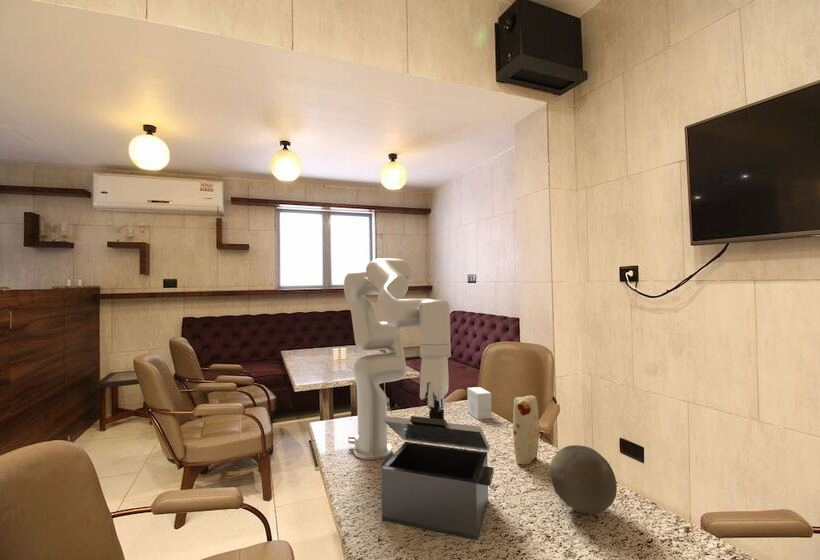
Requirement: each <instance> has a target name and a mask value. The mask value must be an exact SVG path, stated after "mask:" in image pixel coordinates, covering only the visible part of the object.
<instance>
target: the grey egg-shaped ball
mask: <svg viewBox="0 0 820 560" xmlns="http://www.w3.org/2000/svg"><path fill="white" fill-rule="evenodd" d="M549 471H550V472H549V475H550V481H551V484H552V486H553V490H554V491H555V493H556V495H557V496H558V497H559V498H560V499H561V501H562V502H563V503H564V504H565V505H567V506H568V507H569V508H571V509H573V510H574V511H575V512H577V513H581V514H589V515H595V514H596V515H597V514H599V513H603V512H604V511H606V510H607V509H609V508H610V507H611V506H612V505H613V503H614V502H615V499H616V497H617V492H618V491H617V488H618V487H617V486H618V485H617V480H616V476H615V475H616V474H615V473H614V470H613V468H612V466H611V465H610V463H609V462H608V461H607V459H606V458H605V457H603V456H602V454H600V452H598V451H596V449H593V448H591V447H588V446H585V445H579V444H578V445H575V444H574V445H568V446H564V447H563V448H561V449H560V450H559V451H558V452H557V453H556V454H555V455H554V457H553V458H552V460H551V463H550V468H549Z"/></svg>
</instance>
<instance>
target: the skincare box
mask: <svg viewBox="0 0 820 560" xmlns="http://www.w3.org/2000/svg"><path fill="white" fill-rule="evenodd" d="M466 389H467V413H468V414H469V413H470V414H469V415H471V416H472V417H474V418H475V419H477V420H486V419H492V392H490V391H488V390H486V389H484V388H482V387H481V386H479V387H478V386H475V387H474V386H473V387H467V388H466Z"/></svg>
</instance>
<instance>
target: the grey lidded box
mask: <svg viewBox="0 0 820 560" xmlns="http://www.w3.org/2000/svg"><path fill="white" fill-rule="evenodd" d="M380 468H381V469H380V471H381V520H382V521H383V522H388V523H393V524H397V525H401V526H407V527H411V528H416V529H421V530H427V531H430V532H434V533H435V532H436V533H440V534H445V535H449V536H455V537H460V538H464V539H468V540H472V541H473V540H474V541H478V539H479V537H480V536H479V535H480V532H481V529H482V524H483V521H484V517H485V513H486V509H487V506H488V503H489V487H491V486H492V485H491V484H492V481H493V479H494V475H495V474H494V473H495V472H494V471H495V468H494V467H491V466H489V465H488V451H483V450H475V449H467V448H460V447H452V446H444V445H437V444H429V443H421V442H414V441H404V442H403V444H402V445H401V446H400V447H399V448H398V449H397V450H396V451H395V452H394V453H392V452H391V453H390V454H389V455H388V456H386V457H385V459H384V460H383V461H382V462H381V467H380ZM382 521H381V522H382Z"/></svg>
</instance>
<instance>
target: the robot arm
mask: <svg viewBox="0 0 820 560" xmlns="http://www.w3.org/2000/svg"><path fill="white" fill-rule="evenodd" d="M412 272H413V271H412V267H411V266H410V263H409V262H408V261H406V260H404V259H401V258H375V259H372V260H371V261H369V262H368V264H367V265H366V267H365V269H361V270H360V269H359V270H353V271H350V272H348V273H347V274H346V275H345V277H344V280H343V292H344V296H345V297H344V298H345V300H346V302H347V304H348V307H349V310H350V312H351V321H352V329H353V335H354V343H355V346H356V348H357V349H358V350H359V351H361V352H372V351H382V350H385V352H386V353H385V352H384V353H376V354H367V355H363V356H360V357H359V358H357V359H356V360H355V363H354V365H353V372H354V377H355V379H354V380H355V383H356V393H357V394H356V395H357V399H356V400H357V435H352V434H350V435H348V439H347V443H348V444H350V445H354V447H353V455H354V456H355V457H357V458H358V457H359V459H362V460H369V461H370V460H379V459H380V460H381V459H383V458H387V457H388V456H389V455H390V453H392V451H393V447H392V444H390V442H388V425H387V424H386V423H385V422H384V417H385V416H388V412H387V411H388V410H387V395H386V393H385V392H384V391H385V390H383V389H382V388H381V386H380V384H383V383H391V382H396V381H400V380H402V379H404V377H405V376H406V373H407V364H406V363H407V362H406V356H405V350H404V344H403V338H402V332H401V329H403V330H404V329H411V328H415V329H416V328H417V329H418V330H419V332H418V333H419V357H420V358H421V364H420V373H419V374H420V375H419V376H420V377H419V378H420V379H419V380H420V381H419V398H420V400H421V401H424V400H425V399H426V398H427V408H428V411H429V413H428V414H429V416H428V418H435V419H444V420H445V410H444V408H445V407H444V406H445V405H444V402H445V401H444V400H445V396H446V395H447V394H448V391H449V388H450V387H449V384H450V382H449V380H450V378H449V377H450V376H449V363H448V362H449V361H448V360H449V358H451V357H452V353H451V352H452V348H451V347H452V345H451V343H452V342H451V316H450V315H451V313H450V312H451V311H450V308H451V307H450V303H449V301H448V300H445V299H433V298H404V297H405V295H406V294H407V292H408V289H409V283H410V282H411V279H412V275H413V274H412ZM366 296H377V308H378V311H379V314H380V316H381V317H382V318H383V320H384V321H379V320H378V315H377V314H378V313H377V310H376V309H377V308H376V307H375V305H374V304H373V302H372V301H371V300H370V299H369V298H368V297H366Z"/></svg>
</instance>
